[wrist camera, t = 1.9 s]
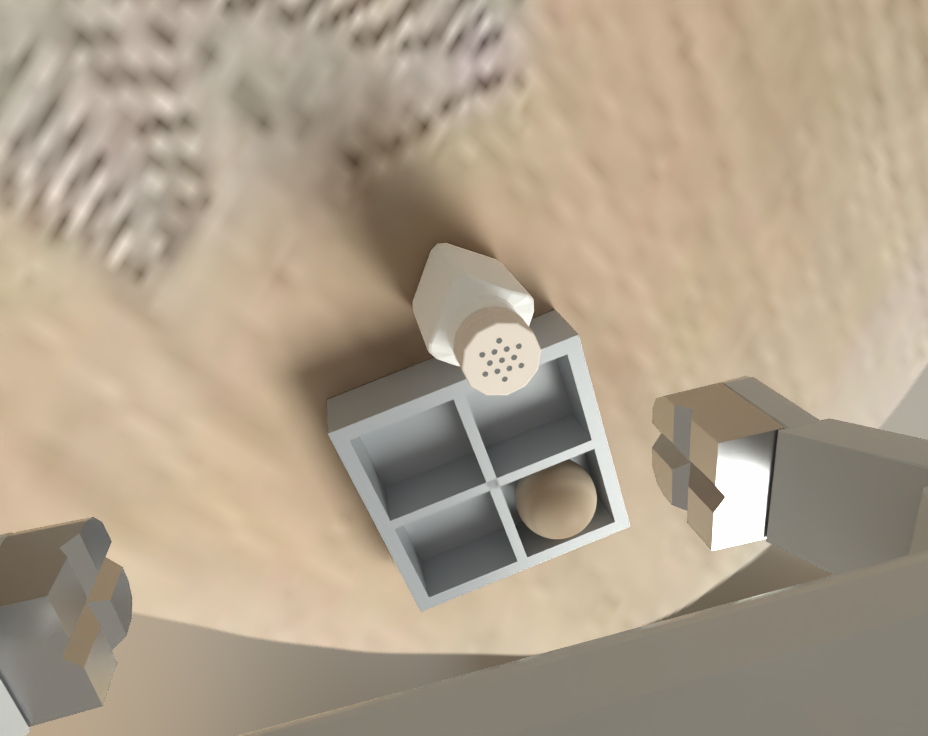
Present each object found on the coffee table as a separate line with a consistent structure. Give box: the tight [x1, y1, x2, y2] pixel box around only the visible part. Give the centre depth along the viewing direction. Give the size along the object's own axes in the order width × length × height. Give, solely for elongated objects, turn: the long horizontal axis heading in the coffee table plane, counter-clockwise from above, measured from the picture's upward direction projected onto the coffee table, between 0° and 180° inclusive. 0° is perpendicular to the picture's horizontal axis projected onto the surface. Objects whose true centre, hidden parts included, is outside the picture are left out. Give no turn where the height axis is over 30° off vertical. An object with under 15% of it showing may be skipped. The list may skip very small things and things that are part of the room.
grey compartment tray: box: [327, 310, 630, 612], centre depth 36 cm, size 13×13×4 cm
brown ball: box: [515, 459, 597, 539], centre depth 37 cm, size 5×5×5 cm
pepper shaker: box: [412, 243, 541, 395], centre depth 29 cm, size 4×4×10 cm
